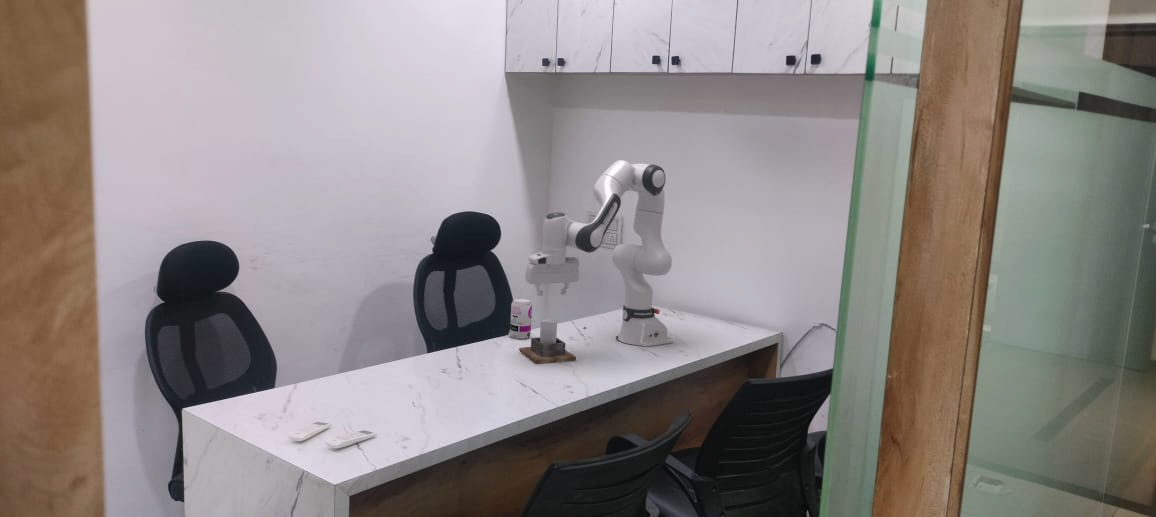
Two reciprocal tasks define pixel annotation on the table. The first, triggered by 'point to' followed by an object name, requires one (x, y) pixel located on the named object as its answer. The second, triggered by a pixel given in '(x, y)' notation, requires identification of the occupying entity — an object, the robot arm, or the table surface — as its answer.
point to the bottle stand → (547, 352)
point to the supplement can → (521, 318)
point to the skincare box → (548, 331)
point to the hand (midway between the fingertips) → (551, 294)
